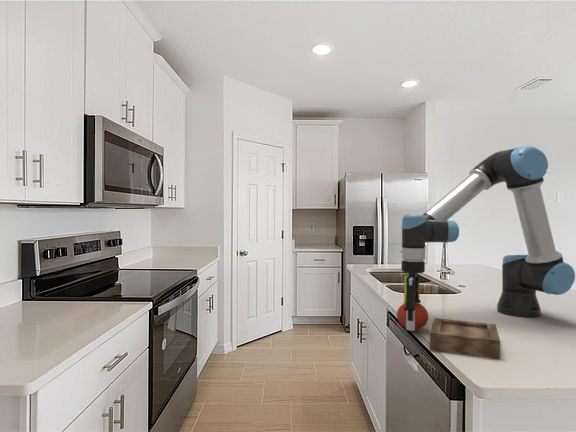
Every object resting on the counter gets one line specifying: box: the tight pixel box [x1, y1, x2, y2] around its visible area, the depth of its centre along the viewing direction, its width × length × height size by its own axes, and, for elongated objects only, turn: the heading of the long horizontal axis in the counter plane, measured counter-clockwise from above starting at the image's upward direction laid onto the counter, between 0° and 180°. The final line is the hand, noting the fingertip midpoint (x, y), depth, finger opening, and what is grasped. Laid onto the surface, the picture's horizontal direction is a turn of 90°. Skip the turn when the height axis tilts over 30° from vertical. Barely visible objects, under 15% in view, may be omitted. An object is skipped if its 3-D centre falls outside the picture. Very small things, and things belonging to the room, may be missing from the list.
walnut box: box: [429, 317, 501, 360], centre depth 123 cm, size 18×18×5 cm
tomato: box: [396, 302, 429, 331], centre depth 138 cm, size 10×10×10 cm
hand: (412, 325), depth 138 cm, fingers closed on tomato, 10 cm apart
